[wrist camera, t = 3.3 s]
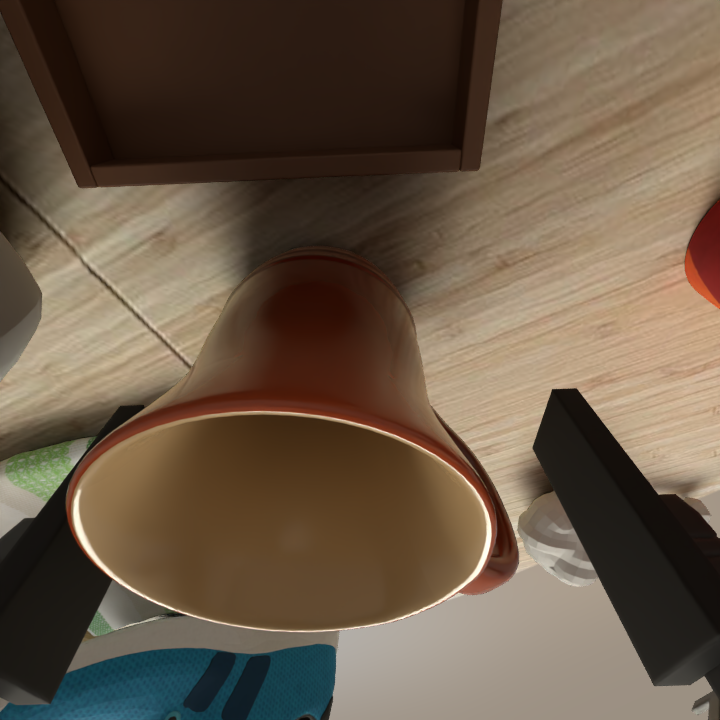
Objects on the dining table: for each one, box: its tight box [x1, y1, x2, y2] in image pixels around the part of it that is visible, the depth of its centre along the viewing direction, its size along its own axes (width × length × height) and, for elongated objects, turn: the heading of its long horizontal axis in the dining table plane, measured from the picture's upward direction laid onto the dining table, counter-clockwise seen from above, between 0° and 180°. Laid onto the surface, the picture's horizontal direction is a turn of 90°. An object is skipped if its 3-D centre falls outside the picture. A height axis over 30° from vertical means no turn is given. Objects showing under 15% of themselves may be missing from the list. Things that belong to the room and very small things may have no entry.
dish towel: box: [0, 436, 179, 636], centre depth 23 cm, size 17×23×4 cm
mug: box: [65, 246, 519, 632], centre depth 13 cm, size 12×9×10 cm
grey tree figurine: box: [517, 491, 711, 587], centre depth 23 cm, size 7×5×12 cm
